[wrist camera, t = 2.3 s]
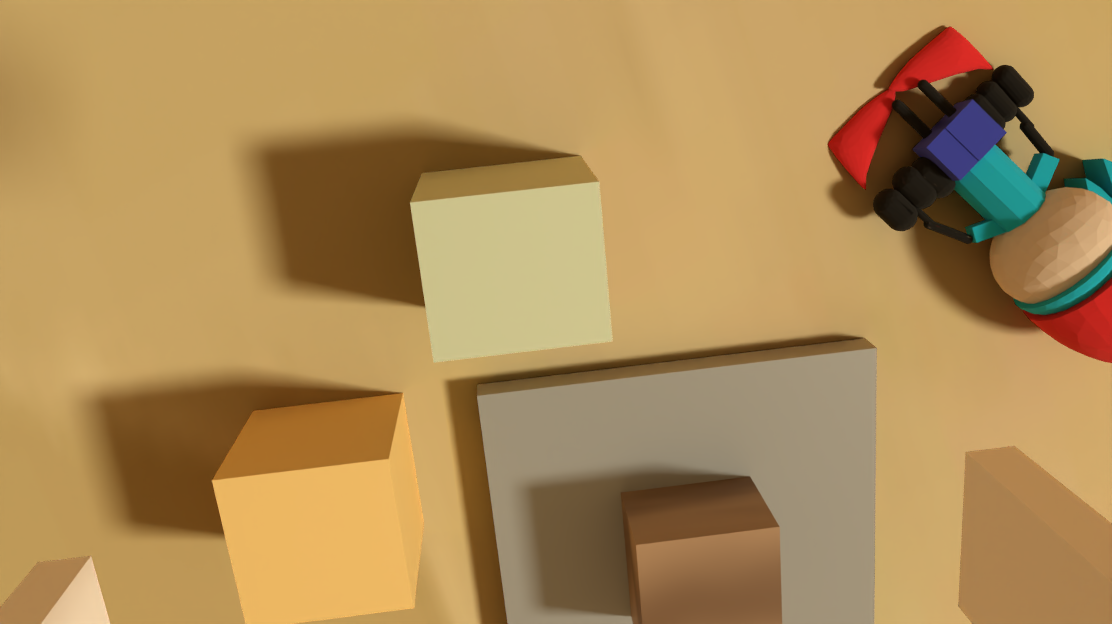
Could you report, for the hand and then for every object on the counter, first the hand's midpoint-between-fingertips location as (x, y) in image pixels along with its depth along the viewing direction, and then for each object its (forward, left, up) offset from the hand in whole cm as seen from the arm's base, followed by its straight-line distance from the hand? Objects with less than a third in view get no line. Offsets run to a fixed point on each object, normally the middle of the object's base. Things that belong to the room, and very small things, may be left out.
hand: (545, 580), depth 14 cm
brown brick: (+14, +6, -22) cm, 26 cm away
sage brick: (0, 0, -23) cm, 23 cm away
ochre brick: (+9, -8, -23) cm, 26 cm away
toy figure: (+1, +20, -23) cm, 31 cm away
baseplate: (+14, +6, -23) cm, 27 cm away
